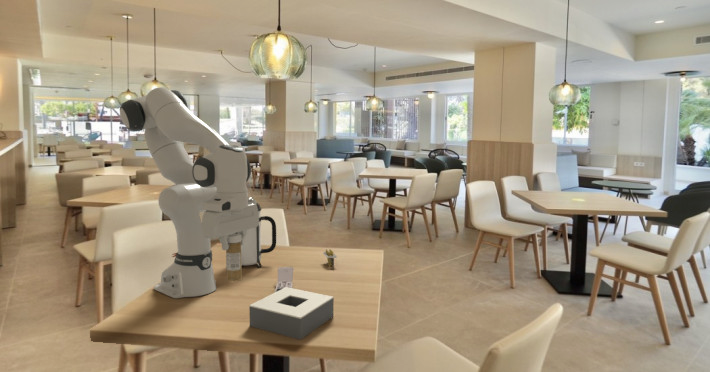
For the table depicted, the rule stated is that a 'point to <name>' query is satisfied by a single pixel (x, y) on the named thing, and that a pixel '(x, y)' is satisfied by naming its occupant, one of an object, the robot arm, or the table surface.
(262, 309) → the socket block
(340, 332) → the table surface
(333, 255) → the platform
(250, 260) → the coffee press
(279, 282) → the mobile phone
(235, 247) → the sprinkles bottle
